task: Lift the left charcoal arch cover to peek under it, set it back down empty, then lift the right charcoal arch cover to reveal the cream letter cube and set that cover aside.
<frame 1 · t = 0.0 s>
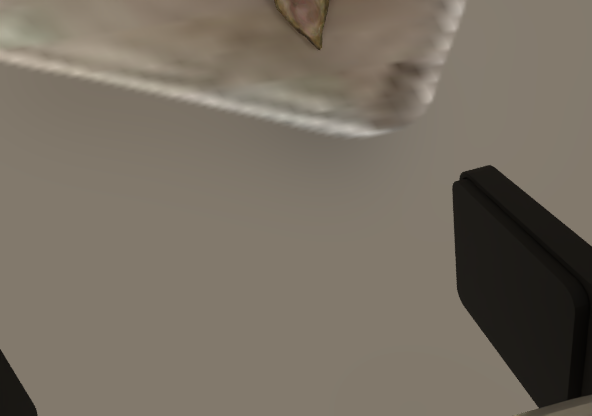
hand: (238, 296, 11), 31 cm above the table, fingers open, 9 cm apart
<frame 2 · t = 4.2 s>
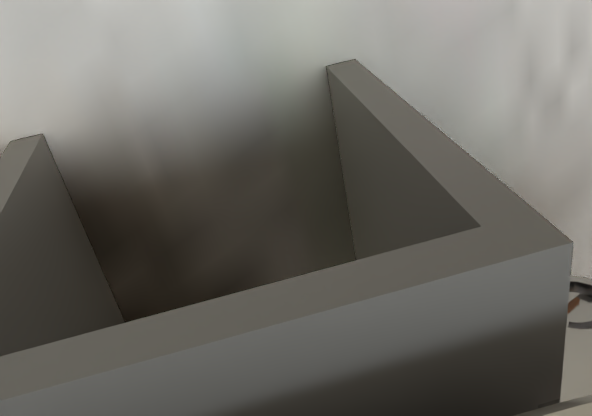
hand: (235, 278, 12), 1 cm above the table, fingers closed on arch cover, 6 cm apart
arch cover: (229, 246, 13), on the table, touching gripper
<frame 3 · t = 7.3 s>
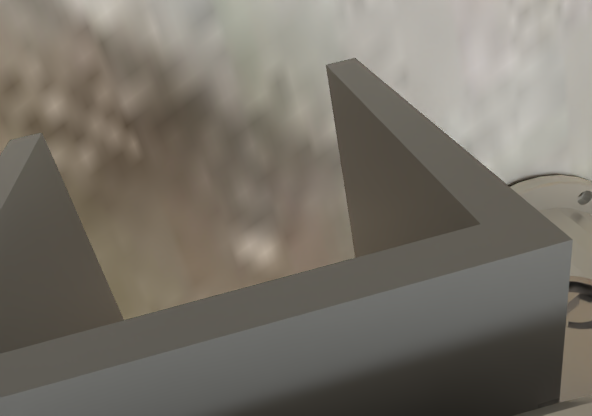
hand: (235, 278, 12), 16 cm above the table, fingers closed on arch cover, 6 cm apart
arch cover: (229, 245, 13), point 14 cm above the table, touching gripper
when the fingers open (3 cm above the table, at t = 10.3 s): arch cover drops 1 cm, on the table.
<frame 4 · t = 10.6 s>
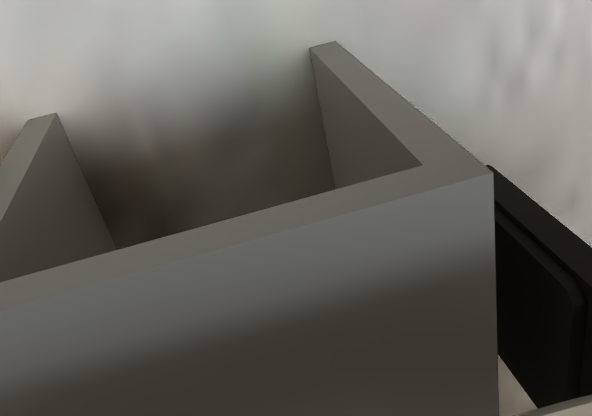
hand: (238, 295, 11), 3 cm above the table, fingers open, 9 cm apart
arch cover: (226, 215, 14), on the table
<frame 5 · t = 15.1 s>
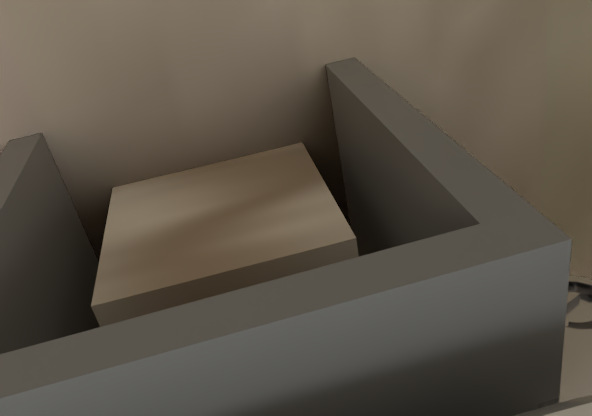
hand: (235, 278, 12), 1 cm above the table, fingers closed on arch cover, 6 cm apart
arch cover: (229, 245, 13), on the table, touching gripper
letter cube: (230, 241, 13), on the table
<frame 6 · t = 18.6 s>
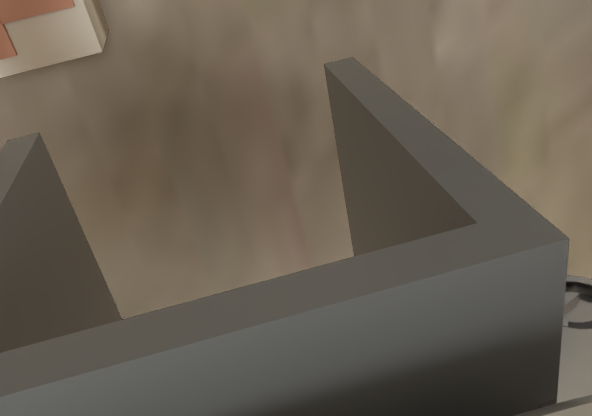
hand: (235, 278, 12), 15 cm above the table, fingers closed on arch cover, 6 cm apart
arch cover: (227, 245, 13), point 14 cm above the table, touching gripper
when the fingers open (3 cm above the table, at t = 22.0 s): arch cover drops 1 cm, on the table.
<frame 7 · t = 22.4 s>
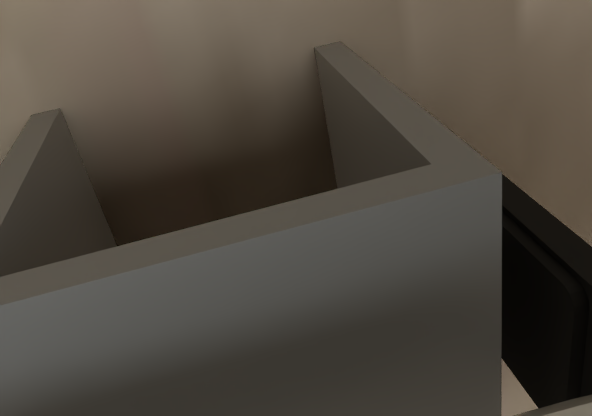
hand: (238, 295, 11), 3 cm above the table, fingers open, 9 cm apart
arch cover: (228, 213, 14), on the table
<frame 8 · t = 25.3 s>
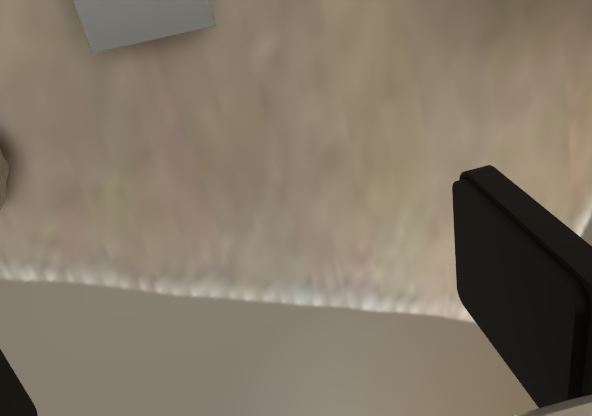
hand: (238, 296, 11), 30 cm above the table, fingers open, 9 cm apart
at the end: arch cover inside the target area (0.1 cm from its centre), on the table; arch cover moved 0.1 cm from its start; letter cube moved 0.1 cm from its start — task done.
